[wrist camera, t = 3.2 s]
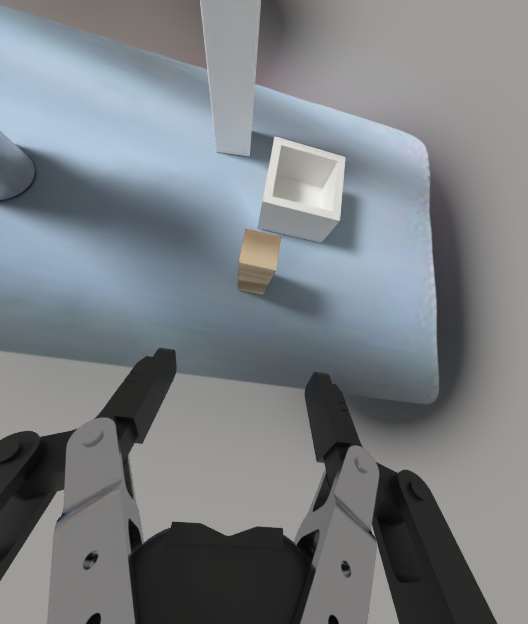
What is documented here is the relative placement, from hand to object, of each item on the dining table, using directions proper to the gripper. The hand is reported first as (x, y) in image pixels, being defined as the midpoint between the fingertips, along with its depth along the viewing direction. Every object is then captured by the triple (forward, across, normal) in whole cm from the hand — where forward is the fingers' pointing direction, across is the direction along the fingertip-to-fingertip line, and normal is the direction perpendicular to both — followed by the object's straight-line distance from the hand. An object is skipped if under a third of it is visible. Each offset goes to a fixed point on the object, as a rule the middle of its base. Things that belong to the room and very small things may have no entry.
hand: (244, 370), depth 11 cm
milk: (+38, +8, -14) cm, 42 cm away
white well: (+31, -5, -7) cm, 32 cm away
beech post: (+20, 0, +4) cm, 21 cm away
